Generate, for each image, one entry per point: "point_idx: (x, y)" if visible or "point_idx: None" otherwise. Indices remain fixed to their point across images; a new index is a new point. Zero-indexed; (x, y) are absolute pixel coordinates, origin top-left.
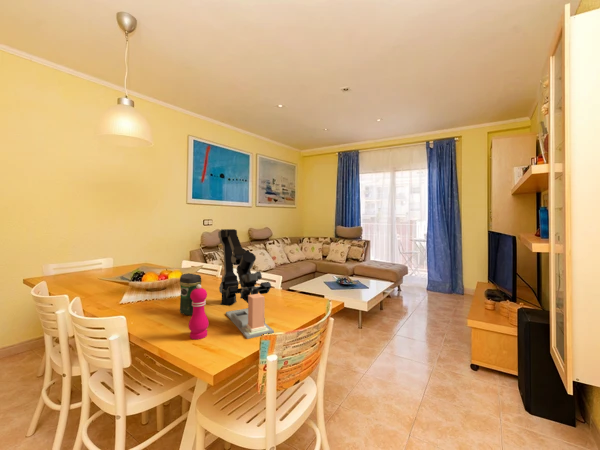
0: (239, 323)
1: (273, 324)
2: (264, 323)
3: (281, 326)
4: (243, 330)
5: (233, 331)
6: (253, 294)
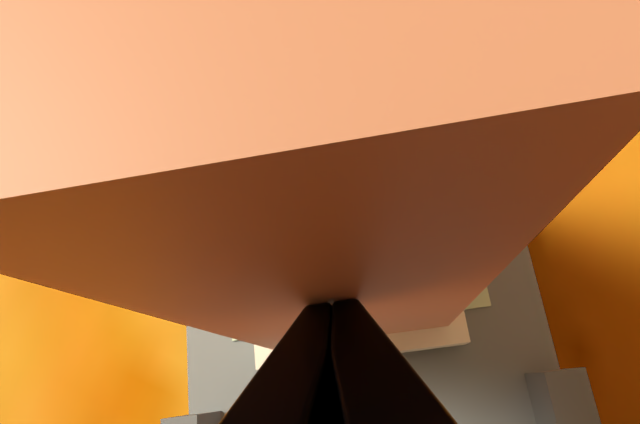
0: (584, 381)
1: (99, 391)
2: (203, 390)
3: (49, 295)
4: (514, 261)
5: (636, 363)
6: (282, 131)
